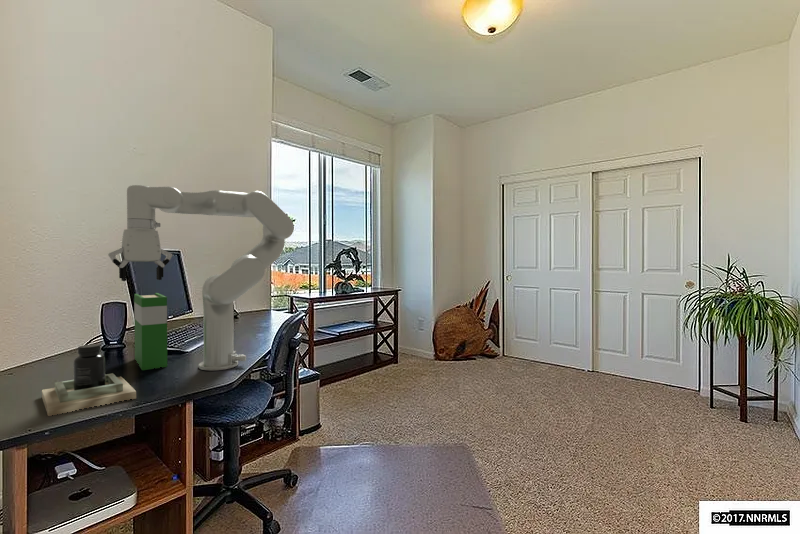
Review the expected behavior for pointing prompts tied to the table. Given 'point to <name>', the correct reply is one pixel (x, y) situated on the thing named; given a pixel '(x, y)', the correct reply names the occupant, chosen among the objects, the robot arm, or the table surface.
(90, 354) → the supplement bottle
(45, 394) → the socket board
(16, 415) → the table surface
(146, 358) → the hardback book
